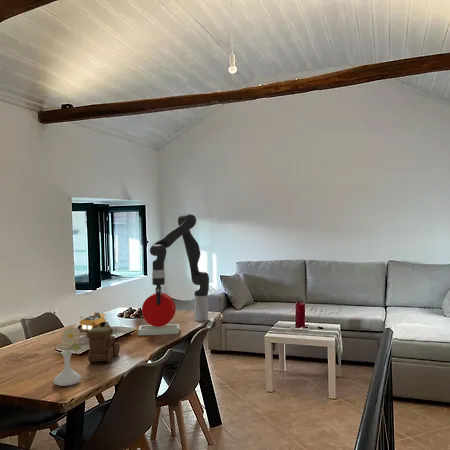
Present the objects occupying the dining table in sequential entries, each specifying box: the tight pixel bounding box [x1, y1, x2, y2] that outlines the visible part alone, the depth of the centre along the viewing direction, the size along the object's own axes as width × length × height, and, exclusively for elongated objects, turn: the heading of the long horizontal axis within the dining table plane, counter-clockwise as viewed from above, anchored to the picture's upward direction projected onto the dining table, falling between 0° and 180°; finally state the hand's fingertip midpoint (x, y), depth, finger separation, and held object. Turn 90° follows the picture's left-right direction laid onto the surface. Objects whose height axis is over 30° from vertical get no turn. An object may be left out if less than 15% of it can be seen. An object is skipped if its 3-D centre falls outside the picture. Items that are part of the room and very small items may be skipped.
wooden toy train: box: [86, 324, 121, 364], centre depth 223 cm, size 20×11×17 cm, turn 176°
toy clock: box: [141, 292, 177, 327], centre depth 273 cm, size 20×6×20 cm, turn 84°
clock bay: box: [138, 323, 180, 336], centre depth 273 cm, size 10×24×4 cm, turn 96°
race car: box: [76, 311, 110, 333], centre depth 282 cm, size 15×15×11 cm
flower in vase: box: [53, 326, 82, 387], centre depth 191 cm, size 13×11×25 cm
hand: (158, 303), depth 273 cm, fingers closed on toy clock, 6 cm apart
